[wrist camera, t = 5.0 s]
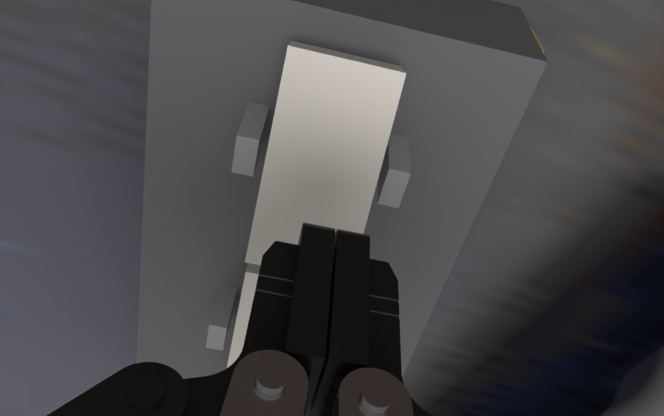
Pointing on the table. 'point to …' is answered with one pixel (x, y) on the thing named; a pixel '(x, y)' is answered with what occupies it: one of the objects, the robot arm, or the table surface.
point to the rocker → (324, 144)
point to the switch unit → (254, 132)
